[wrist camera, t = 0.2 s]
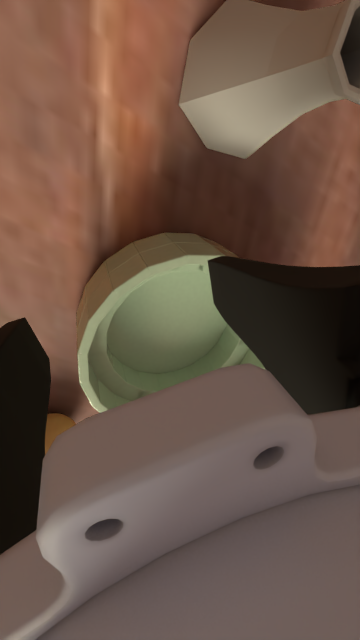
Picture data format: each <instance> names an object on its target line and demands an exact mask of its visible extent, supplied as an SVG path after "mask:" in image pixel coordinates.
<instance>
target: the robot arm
mask: <svg viewBox="0 0 360 640" xmlns="http://www.w3.org/2000/svg"><path fill="white" fill-rule="evenodd" d="M207 261H208V267H209V274H210V281H211V288H212V295H213V302H214V305H215V306H216V308H217V310H218V311H219V313H220V315H221V316H222V318H223V319H224V321H225V322H226V323H227V324H228V325H229V326H230V327H231V329H232V330H233V331H234V332H235V333H236V334H237V335H238V336H239V338H240V339H241V340H242V341H243V342H244V343H245V344H246V345H247V347H248V348H249V349H250V350H251V351H252V352H253V353H254V354H255V356H256V357H257V358H258V359H259V361H260V362H261V363H262V365H263V366H264V367H265V369H266V370H265V369H262V368H260V367H258V366H255V365H253V364H250V363H248V364H241V365H235V366H229V367H222V368H219V369H216V370H213V371H211V372H208V373H205V374H203V375H200V376H197V377H195V378H192V379H189V380H187V381H184V382H181V383H179V384H176V385H173V386H171V387H168V388H165V389H163V390H160V391H157V392H155V393H152V394H149V395H147V396H144V397H141V398H139V399H136V400H133V401H131V402H128V403H125V404H123V405H120V406H117V407H115V408H112V409H109V410H107V411H104V412H101V413H99V414H96V415H93V416H91V417H88V418H86V419H84V420H83V421H81V422H79V423H78V424H76V425H74V426H73V427H71V428H69V429H68V430H66V431H64V432H63V433H61V434H60V435H58V436H57V437H56V438H55V440H54V442H53V443H52V445H51V447H50V448H49V450H48V452H47V453H46V455H45V433H46V423H47V414H48V405H49V395H50V384H51V375H50V362H49V358H48V356H47V354H46V353H45V351H44V349H43V348H42V346H41V344H40V342H39V341H38V339H37V337H36V336H35V334H34V332H33V330H32V329H31V327H30V325H29V324H28V322H27V320H26V318H25V317H24V318H21V319H18V320H15V321H12V322H8V323H7V324H5V325H4V326H2V327H1V328H0V640H360V265H359V266H345V267H298V266H286V265H278V264H270V263H264V262H258V261H253V260H247V259H242V258H236V257H230V256H220V257H217V258H214V259H210V260H207Z"/></svg>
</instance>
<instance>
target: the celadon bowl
mask: <svg viewBox="0 0 360 640" xmlns="http://www.w3.org/2000/svg"><path fill="white" fill-rule="evenodd" d="M220 256H230V257H236V258H240V257H238V256H237V255H235V254H234V253H232V252H231V251H229V250H228V249H227V248H225V247H224V246H222V245H221V244H218V243H216V242H214V241H211V240H209V239H206V238H204V237H202V236H199V235H197V234H189V233H161V234H158V235H154V236H151V237H148V238H144V239H141V240H137V241H134V242H133V243H130V244H129V245H127V246H126V247H124V248H123V249H121V250H120V251H118V252H117V253H115V254H114V255H112V256H111V257H110V258H108V259H107V260H105V261H104V262H103V263H102V265H101V266H100V267H99V269H98V270H97V271H96V273H95V274H94V275H93V276H92V278H91V279H90V280H89V282H88V283H87V284H86V286H85V288H84V291H83V294H82V297H81V301H80V304H79V307H78V310H77V313H76V328H77V358H78V373H79V383H80V385H81V387H82V389H83V391H84V393H85V394H86V396H87V398H88V400H89V402H90V404H91V406H92V407H93V408H94V409H96V410H97V411H98V412H99V413H101V412H104V411H107V410H109V409H112V408H115V407H117V406H120V405H123V404H125V403H128V402H131V401H133V400H136V399H139V398H141V397H144V396H147V395H149V394H152V393H155V392H157V391H160V390H163V389H165V388H168V387H171V386H173V385H176V384H179V383H181V382H184V381H187V380H189V379H192V378H195V377H197V376H200V375H203V374H205V373H208V372H211V371H213V370H216V369H219V368H222V367H229V366H235V365H241V364H248V363H250V364H253V365H255V366H258V367H260V368H262V369H265V367H264V366H263V365H262V363H261V362H260V361H259V359H258V358H257V357H256V356H255V354H254V353H253V352H252V351H251V350H250V349H249V348H248V347H247V345H246V344H245V343H244V342H243V341H242V340H241V339H240V338H239V336H238V335H237V334H236V333H235V332H234V331H233V330H232V329H231V327H230V326H229V325H228V324H227V323H226V322H225V321H224V319H223V318H222V316H221V315H220V313H219V311H218V310H217V308H216V306H215V305H214V302H213V295H212V288H211V281H210V274H209V267H208V261H207V260H210V259H214V258H217V257H220ZM265 370H266V369H265Z"/></svg>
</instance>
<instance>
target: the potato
mask: <svg viewBox="0 0 360 640" xmlns="http://www.w3.org/2000/svg"><path fill="white" fill-rule="evenodd" d="M74 425H76V423H75V422H74V421H73V420H72V419H71V418H69V417H68V416H66V415H63V414H58V413H52V414H47V423H46V433H45V455H46V453H47V452H48V450H49V448H50V447H51V445H52V443H53V442H54V440H55V438H56V437H57V436H58V435H60V434H61V433H63V432H64V431H66V430H68V429H69V428H71V427H73V426H74Z"/></svg>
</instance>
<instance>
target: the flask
mask: <svg viewBox="0 0 360 640" xmlns="http://www.w3.org/2000/svg"><path fill="white" fill-rule="evenodd" d="M342 99H347V100H350V101H352V102H354V103H356V104H359V105H360V0H345V1H343V2H341V3H339V4H336V5H334V6H329V7H323V8H317V9H311V10H306V11H299V10H293V9H287V8H281V7H276V6H270V5H265V4H261V3H257V2H254V1H250V0H226V1H225V2H224V4H223V5H222V6H221V7H220V8H219V9H218V10H217V11H216V12H215V13H214V14H213V16H212V17H211V18H210V19H209V20H208V21H207V22H206V23H205V24H204V25H203V27H202V28H201V29H200V30H199V31H198V32H197V33H196V34H195V35H194V36H193V37H192V39H191V40H190V43H189V49H188V54H187V60H186V66H185V71H184V77H183V83H182V88H181V94H180V100H179V106H180V107H181V109H182V110H183V112H184V113H185V115H186V117H187V118H188V120H189V121H190V123H191V124H192V126H193V127H194V129H195V131H196V132H197V134H198V135H199V137H200V138H201V140H202V142H203V143H204V145H205V146H206V148H208V149H211V150H215V151H218V152H222V153H226V154H229V155H233V156H236V157H240V158H243V159H246V158H248V157H249V156H250V155H251V154H253V153H254V152H255V151H256V150H257V149H259V148H260V147H261V146H262V145H263V144H265V143H266V142H267V141H268V140H269V139H270V138H272V137H273V136H274V135H276V134H277V133H278V132H280V131H281V130H282V129H283V128H285V127H286V126H287V125H289V124H290V123H291V122H293V121H294V120H295V119H297V118H298V117H299V116H301V115H302V114H304V113H307V112H309V111H311V110H313V109H315V108H317V107H320V106H322V105H324V104H326V103H328V102H332V101H337V100H342Z"/></svg>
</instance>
